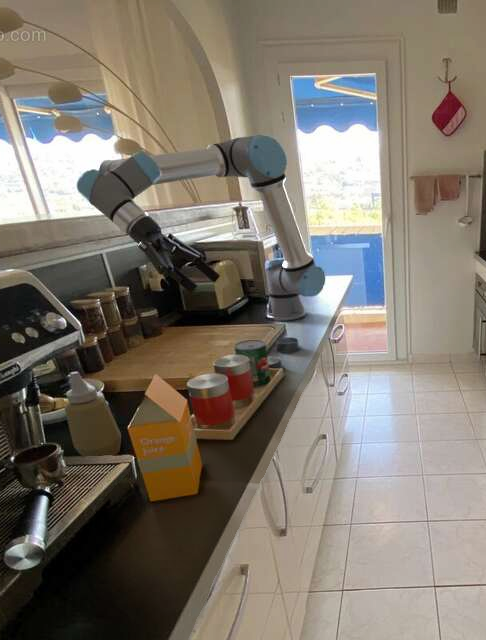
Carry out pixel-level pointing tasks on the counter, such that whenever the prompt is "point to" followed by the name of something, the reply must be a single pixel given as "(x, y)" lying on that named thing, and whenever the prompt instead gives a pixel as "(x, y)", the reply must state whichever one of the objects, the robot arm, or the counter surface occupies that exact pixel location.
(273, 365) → the grey tin
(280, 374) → the tray
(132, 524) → the counter surface
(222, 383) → the label can
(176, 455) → the orange juice
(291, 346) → the grey tin
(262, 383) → the canned tomato
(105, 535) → the counter surface
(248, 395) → the can label
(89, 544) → the counter surface
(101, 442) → the squeeze bottle
